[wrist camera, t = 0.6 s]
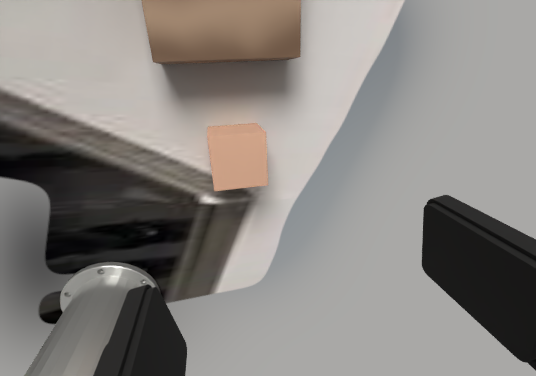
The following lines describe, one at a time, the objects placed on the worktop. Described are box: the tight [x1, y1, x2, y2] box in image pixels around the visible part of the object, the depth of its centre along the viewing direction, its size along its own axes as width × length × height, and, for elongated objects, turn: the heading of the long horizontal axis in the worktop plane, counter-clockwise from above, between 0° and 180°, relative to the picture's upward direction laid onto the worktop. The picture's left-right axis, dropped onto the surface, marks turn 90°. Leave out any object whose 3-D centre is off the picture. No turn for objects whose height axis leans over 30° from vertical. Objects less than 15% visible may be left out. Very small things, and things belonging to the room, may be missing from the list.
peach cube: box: [207, 123, 268, 191], centre depth 32 cm, size 6×6×6 cm
